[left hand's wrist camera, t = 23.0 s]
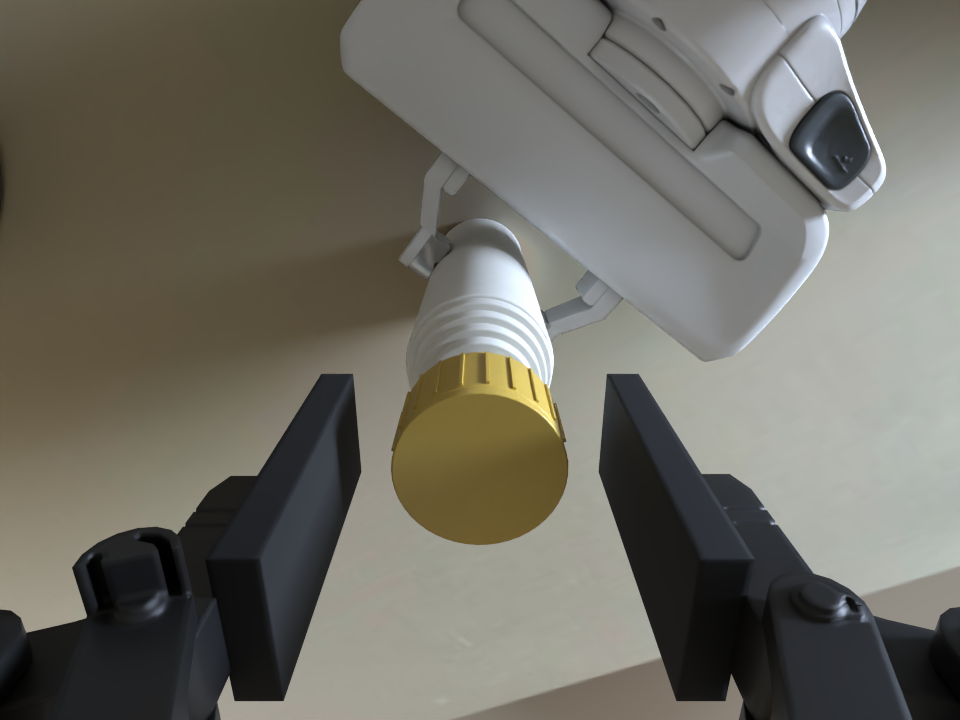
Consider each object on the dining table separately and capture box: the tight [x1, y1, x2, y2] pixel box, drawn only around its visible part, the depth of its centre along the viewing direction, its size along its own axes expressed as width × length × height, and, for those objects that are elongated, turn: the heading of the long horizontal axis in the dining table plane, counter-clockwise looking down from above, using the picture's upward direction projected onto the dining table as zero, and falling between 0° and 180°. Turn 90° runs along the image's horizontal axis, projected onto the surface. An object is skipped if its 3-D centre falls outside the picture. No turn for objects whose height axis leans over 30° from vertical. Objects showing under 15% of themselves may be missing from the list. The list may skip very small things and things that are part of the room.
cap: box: [391, 351, 568, 545], centre depth 14 cm, size 4×4×2 cm
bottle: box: [406, 218, 553, 390], centre depth 23 cm, size 4×4×20 cm
